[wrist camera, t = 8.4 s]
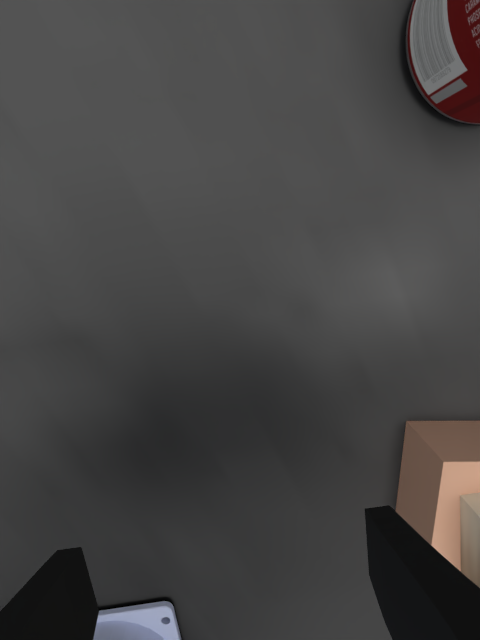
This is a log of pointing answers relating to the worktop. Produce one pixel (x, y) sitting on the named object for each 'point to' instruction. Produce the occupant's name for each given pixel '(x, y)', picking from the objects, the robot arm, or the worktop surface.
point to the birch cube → (470, 536)
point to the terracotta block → (438, 480)
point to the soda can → (446, 56)
